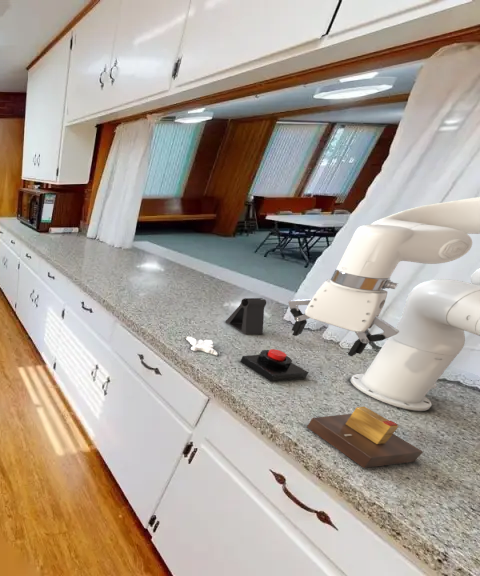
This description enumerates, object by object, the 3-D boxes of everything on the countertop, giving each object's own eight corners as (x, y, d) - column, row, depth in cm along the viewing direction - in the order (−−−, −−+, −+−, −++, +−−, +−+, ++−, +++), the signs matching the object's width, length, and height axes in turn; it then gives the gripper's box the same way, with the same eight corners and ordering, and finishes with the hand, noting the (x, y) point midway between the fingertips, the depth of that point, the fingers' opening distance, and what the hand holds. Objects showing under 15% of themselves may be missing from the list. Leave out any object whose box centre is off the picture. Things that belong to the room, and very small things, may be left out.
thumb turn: (344, 424, 65) (356, 406, 63) (352, 423, 65) (365, 405, 63) (377, 444, 60) (391, 426, 58) (385, 443, 61) (399, 425, 59)
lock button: (274, 353, 88) (277, 348, 87) (287, 360, 85) (290, 355, 84) (263, 354, 88) (266, 349, 87) (276, 361, 84) (279, 356, 84)
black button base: (272, 359, 91) (277, 348, 90) (305, 378, 83) (311, 367, 81) (240, 361, 90) (244, 351, 89) (270, 381, 82) (276, 370, 80)
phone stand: (225, 321, 112) (236, 293, 107) (241, 321, 112) (252, 293, 107) (245, 334, 104) (257, 304, 99) (262, 334, 104) (275, 304, 99)
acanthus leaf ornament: (185, 339, 102) (187, 334, 101) (209, 343, 100) (211, 338, 99) (191, 351, 96) (193, 346, 95) (217, 355, 93) (219, 350, 92)
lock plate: (351, 422, 69) (358, 412, 68) (414, 461, 60) (424, 451, 59) (306, 427, 68) (312, 417, 67) (363, 468, 59) (372, 457, 58)
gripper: (428, 291, 60) (383, 358, 67) (311, 266, 75) (284, 324, 82) (417, 298, 58) (371, 368, 64) (297, 271, 72) (270, 331, 79)
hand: (322, 343), depth 73 cm, fingers open, 9 cm apart
